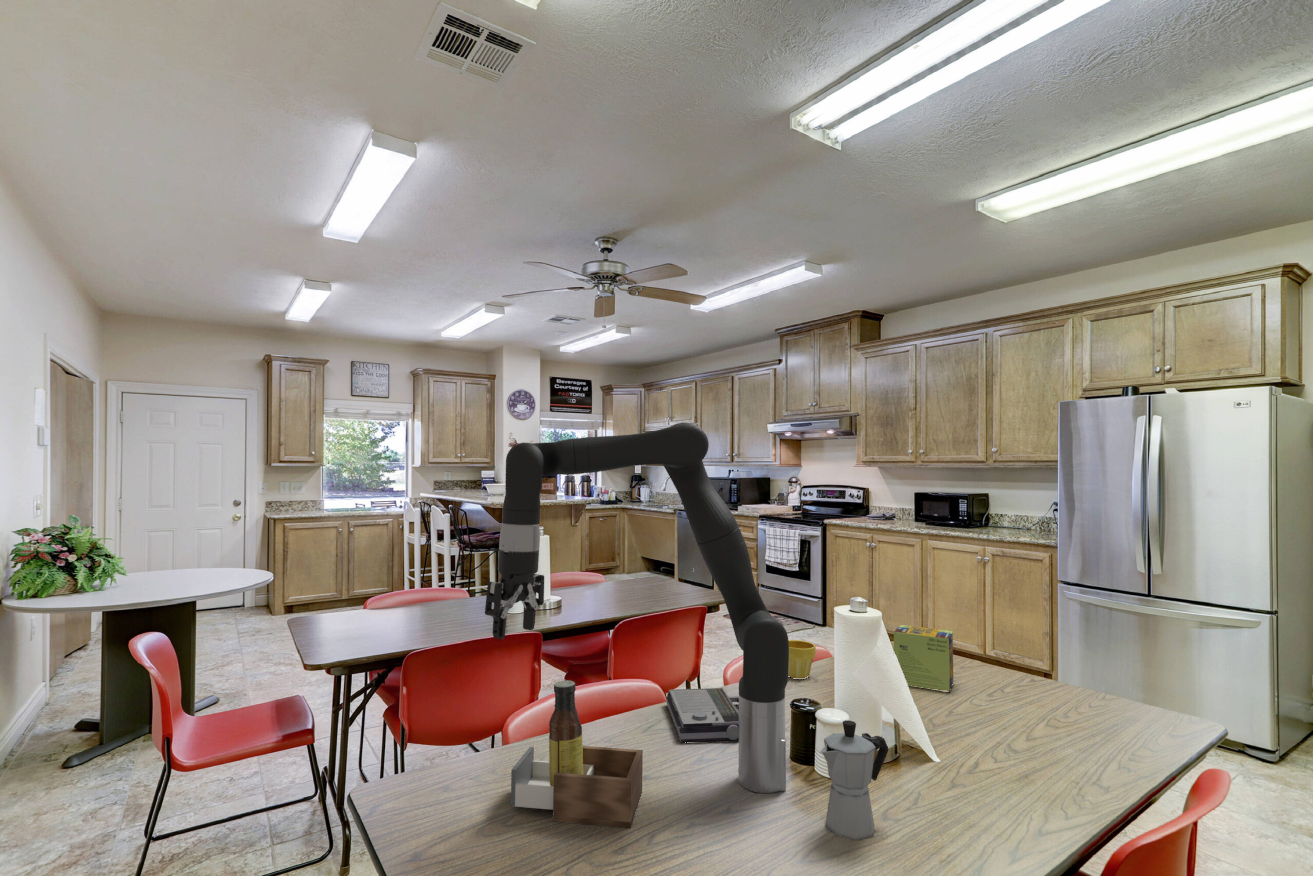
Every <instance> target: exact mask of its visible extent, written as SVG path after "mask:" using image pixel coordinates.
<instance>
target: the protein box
mask: <svg viewBox="0 0 1313 876" xmlns="http://www.w3.org/2000/svg"><path fill="white" fill-rule="evenodd" d="M953 640H954V630H946V629H938V628H930V627H920V626H912V625H903V624H900V625H899V626H898V627H897V628H896V629H895V630H893V652H894V651H895V654H896V655H897V658H898V661H899V663H900V665H901V668H902V670H903V673H904V675H905V678H906V680H907V682H908V685H909V686H910V688H914V687H913V686H917V687H923V688H930V689H938V690H947V691H950V689H951V690H952V688H953V686H952V684H953V682H954V681H955V680H954V677H955V676H954V641H953ZM911 685H912V687H911ZM953 685H954V684H953ZM909 686H908V687H909ZM951 687H952V688H951ZM950 692H951V691H950Z"/></svg>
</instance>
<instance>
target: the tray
mask: <svg viewBox="0 0 1313 876" xmlns="http://www.w3.org/2000/svg"><path fill="white" fill-rule="evenodd" d="M534 752H535V748H534V746H529V747H528V748H527V750H526V751H525V752H524V753H523V754H522V756H521V757H520V758H519V760H518V761H517V763H515V765H514V766H513V767H512V768H511V771H510V772H511V773H510V774H511V775H510V776H511V777H510V779H511V780H510V782H511V783H510V807H518V808H529V809H541V810H551V811H553V786H550V768H549V761H547V760H534V757H535V756H534V755H535V754H534ZM583 775H594V765H589V764H583Z"/></svg>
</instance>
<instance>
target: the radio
mask: <svg viewBox="0 0 1313 876" xmlns="http://www.w3.org/2000/svg"><path fill="white" fill-rule="evenodd" d="M665 698H666V700H665V701H666V705H665V707H666V709H668V711H669V713H671V714H670V715H671V719H672V722H673V721H674V722H673V724H674V726H675V729H677V730H676V733H677V735H678V738H677V741H678V740H681V741H680V743H681V744H682V743H685V742H686V743H685V744H688V743H687V742H709V743H723V742H722V741H733V742H739V710H738V709H737V707H736V706H735V705H734V703H738V704H739V695H728V694H727V692H726V690H725V689H724V688H723V687H718V688H717V687H711V688H681V689H680V688H679V689H678V688H675V689H674V688H673V689H669V690H668V692H667V695H666V697H665ZM718 741H719V742H718ZM720 741H721V742H720Z"/></svg>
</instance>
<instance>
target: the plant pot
mask: <svg viewBox="0 0 1313 876" xmlns="http://www.w3.org/2000/svg"><path fill="white" fill-rule="evenodd" d="M788 640H789V668H788V676H790V677H792V678H805V677H807V676H809V677H810V673H811V671H812V669H811V668H812V665H813V661H814V660H813V659H814V658H815V657H816V651H817V650H816V645H815V644H814V643H812V642H810V641H806V640H800V639H788ZM792 678H791V679H792Z"/></svg>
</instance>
